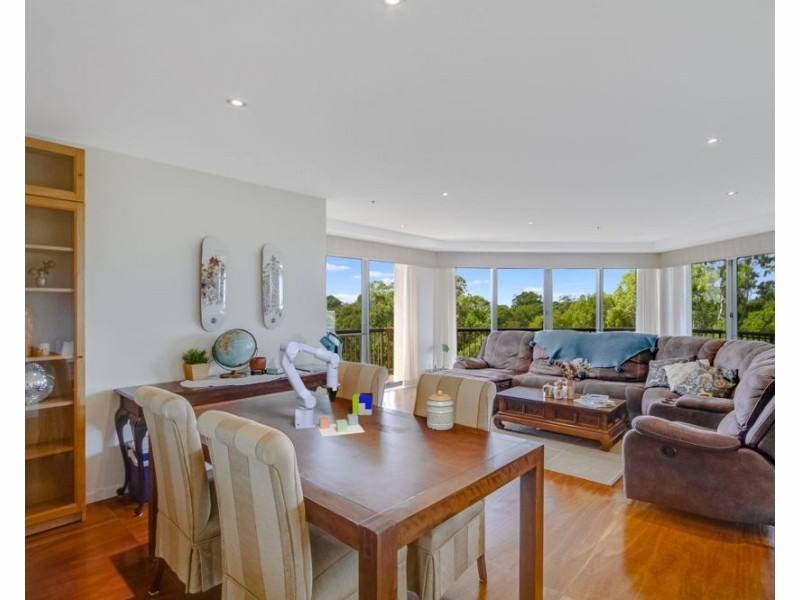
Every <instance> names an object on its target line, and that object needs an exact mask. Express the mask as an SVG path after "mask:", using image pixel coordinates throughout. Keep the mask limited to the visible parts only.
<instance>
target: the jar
mask: <svg viewBox="0 0 800 600" xmlns="http://www.w3.org/2000/svg"><path fill="white" fill-rule="evenodd" d="M426 405H427V407H426V413H427V414H426V417H427V418H426V425H427V428H429V429H431V428H432V429H431V430H435V429H436V430H437V431H446V430H450V429H452V428H453V427H454V408H453V405H454V402H453V400H452V397H451V396H450V395H449V394H448V393H443V391H442V390H438V391H437V392H436V393H433V394H431V395H429V396H428V400H427V401H426Z"/></svg>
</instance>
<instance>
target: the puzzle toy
mask: <svg viewBox="0 0 800 600" xmlns="http://www.w3.org/2000/svg"><path fill="white" fill-rule="evenodd" d="M373 394H374V393H373V392H354V394H353V395H352V414H357V415H358V416H371V415H373V412H374V403H373V402H374V401H373V400H374V395H373Z"/></svg>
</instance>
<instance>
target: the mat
mask: <svg viewBox="0 0 800 600" xmlns="http://www.w3.org/2000/svg"><path fill="white" fill-rule="evenodd" d="M317 428H318V431H319V433H320V434H321V437H323V438H324V437H332V436H340V435H350V434H351V435H353V434H361V433H366V431H365V430H364V429H363V427H362V426H361V424H359V423H358V425H355V426H349V425H348V424H347V432H337V430H336V423H330V428H326V429H320V427H319V424H318V425H317Z"/></svg>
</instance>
